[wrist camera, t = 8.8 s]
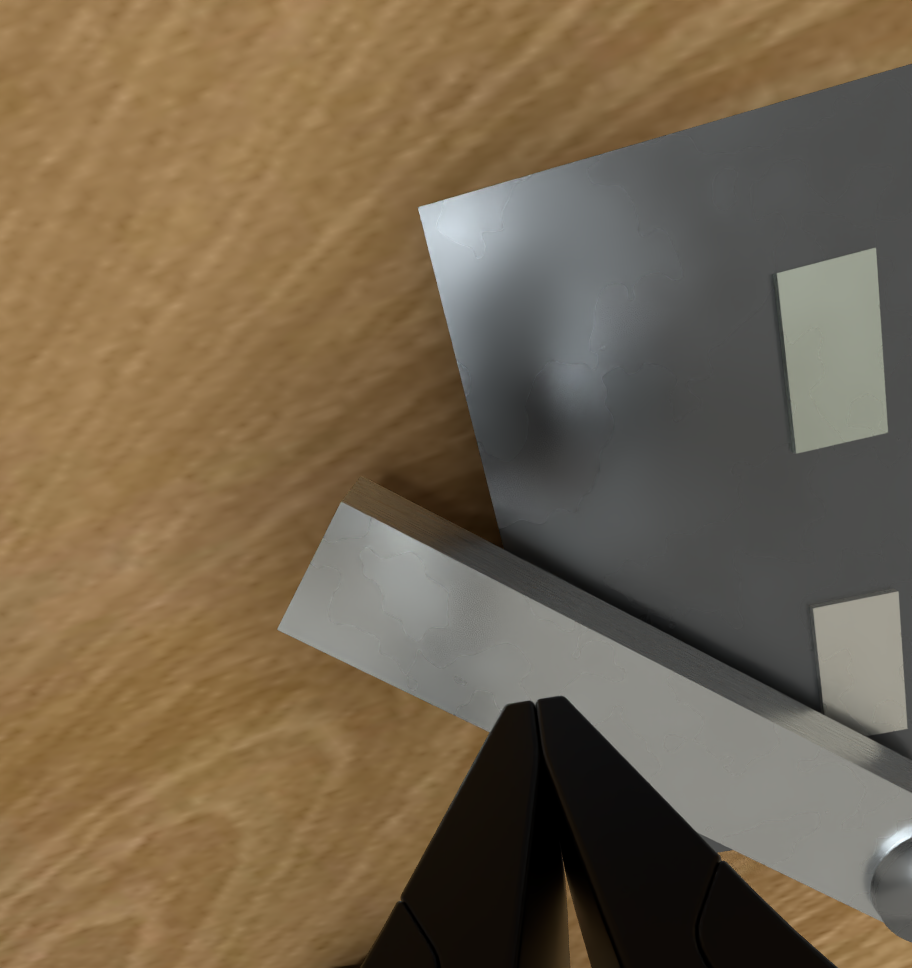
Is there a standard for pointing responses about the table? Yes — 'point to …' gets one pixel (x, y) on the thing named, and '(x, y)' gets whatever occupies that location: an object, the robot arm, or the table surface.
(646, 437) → the label panel
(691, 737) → the metal bar
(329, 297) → the table surface
